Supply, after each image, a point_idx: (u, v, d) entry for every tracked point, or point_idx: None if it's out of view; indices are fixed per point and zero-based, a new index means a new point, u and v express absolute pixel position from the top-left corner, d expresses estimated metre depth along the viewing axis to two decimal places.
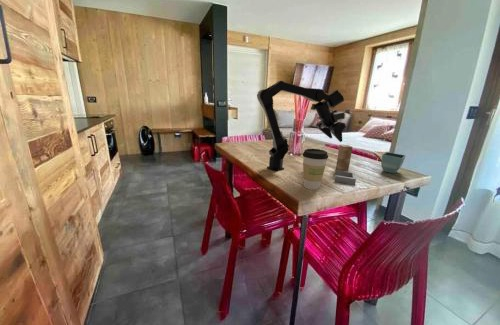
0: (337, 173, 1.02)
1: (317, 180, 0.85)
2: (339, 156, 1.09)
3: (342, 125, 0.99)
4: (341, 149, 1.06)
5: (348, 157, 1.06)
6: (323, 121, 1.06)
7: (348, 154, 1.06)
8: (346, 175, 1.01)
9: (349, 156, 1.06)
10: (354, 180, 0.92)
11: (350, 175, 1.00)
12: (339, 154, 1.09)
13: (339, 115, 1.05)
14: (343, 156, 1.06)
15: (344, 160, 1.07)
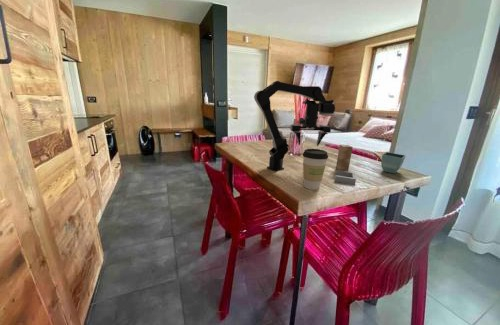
0: (337, 173, 1.02)
1: (317, 180, 0.85)
2: (339, 156, 1.09)
3: None
4: (341, 149, 1.06)
5: (348, 157, 1.06)
6: (314, 120, 1.03)
7: (348, 154, 1.06)
8: (346, 175, 1.01)
9: (349, 156, 1.06)
10: (354, 180, 0.92)
11: (350, 175, 1.00)
12: (339, 154, 1.09)
13: None
14: (343, 156, 1.06)
15: (344, 160, 1.07)
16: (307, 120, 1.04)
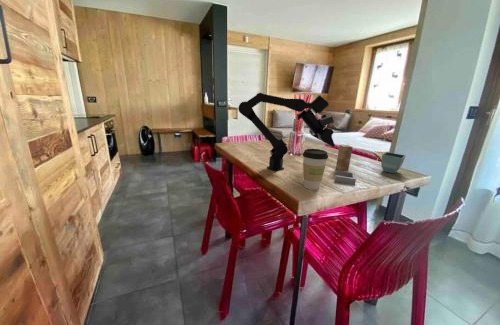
0: (337, 173, 1.02)
1: (317, 180, 0.85)
2: (339, 156, 1.09)
3: (328, 131, 0.96)
4: (341, 149, 1.06)
5: (348, 157, 1.06)
6: (311, 129, 1.03)
7: (348, 154, 1.06)
8: (346, 175, 1.01)
9: (349, 156, 1.06)
10: (354, 180, 0.92)
11: (350, 175, 1.00)
12: (339, 154, 1.09)
13: (327, 120, 1.01)
14: (343, 156, 1.06)
15: (344, 160, 1.07)
16: None
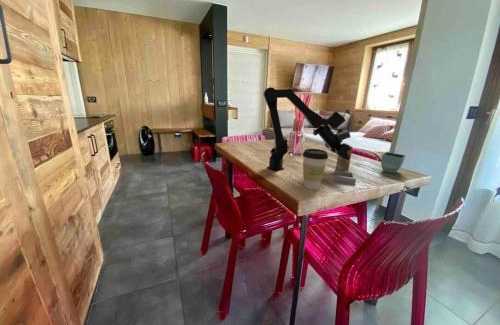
0: (337, 173, 1.02)
1: (317, 180, 0.85)
2: (339, 156, 1.09)
3: (346, 147, 0.98)
4: None
5: None
6: (328, 144, 1.05)
7: (348, 154, 1.06)
8: (346, 175, 1.01)
9: (349, 156, 1.06)
10: (354, 180, 0.92)
11: (350, 175, 1.00)
12: None
13: (343, 135, 1.03)
14: None
15: (344, 160, 1.07)
16: None
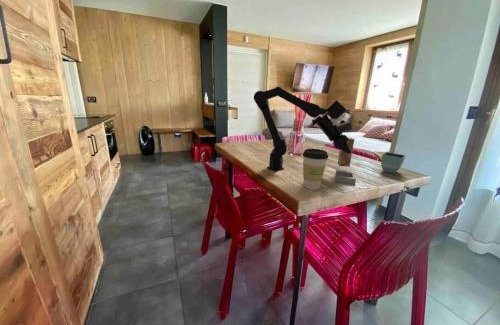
0: (337, 173, 1.02)
1: (317, 180, 0.85)
2: None
3: (343, 138, 0.91)
4: None
5: None
6: (327, 135, 1.00)
7: (350, 148, 0.98)
8: (346, 175, 1.01)
9: (351, 149, 0.98)
10: (354, 180, 0.92)
11: (350, 175, 1.00)
12: None
13: (344, 126, 0.96)
14: None
15: (345, 153, 0.99)
16: None
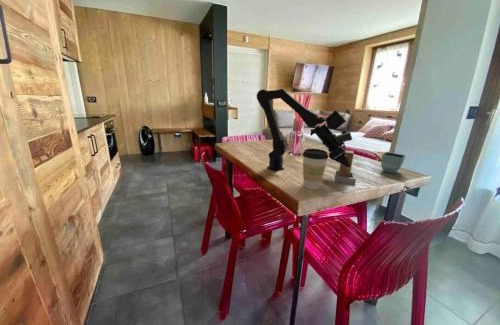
0: (337, 173, 1.02)
1: (317, 180, 0.85)
2: (340, 163, 0.97)
3: (338, 150, 0.87)
4: None
5: None
6: (325, 145, 0.97)
7: (349, 162, 0.94)
8: None
9: (350, 164, 0.94)
10: (354, 180, 0.92)
11: (350, 175, 1.00)
12: None
13: (343, 137, 0.92)
14: None
15: (344, 167, 0.95)
16: None
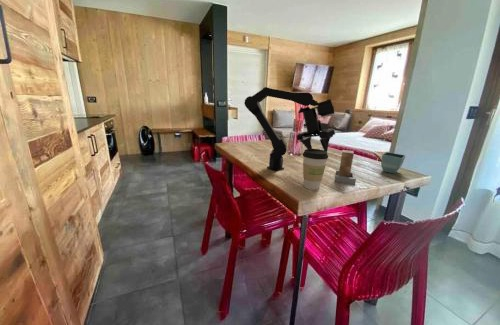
0: (337, 173, 1.02)
1: (317, 180, 0.85)
2: (340, 163, 0.97)
3: (332, 131, 0.94)
4: None
5: (348, 165, 0.94)
6: (310, 127, 0.98)
7: (349, 162, 0.94)
8: None
9: (350, 164, 0.94)
10: (354, 180, 0.92)
11: (350, 175, 1.00)
12: None
13: (324, 125, 1.01)
14: (342, 163, 0.95)
15: (344, 167, 0.95)
16: None
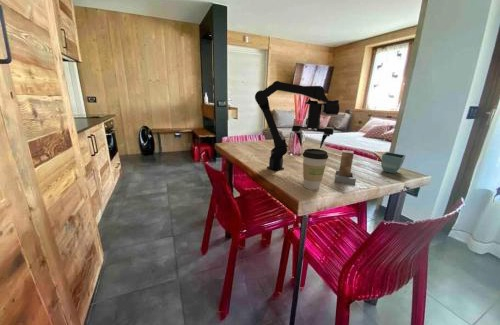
0: (337, 173, 1.02)
1: (317, 180, 0.85)
2: (340, 163, 0.97)
3: (333, 129, 1.01)
4: None
5: (348, 165, 0.94)
6: (315, 121, 0.99)
7: (349, 162, 0.94)
8: None
9: (350, 164, 0.94)
10: (354, 180, 0.92)
11: (350, 175, 1.00)
12: None
13: None
14: (342, 163, 0.95)
15: (344, 167, 0.95)
16: (308, 121, 1.01)
